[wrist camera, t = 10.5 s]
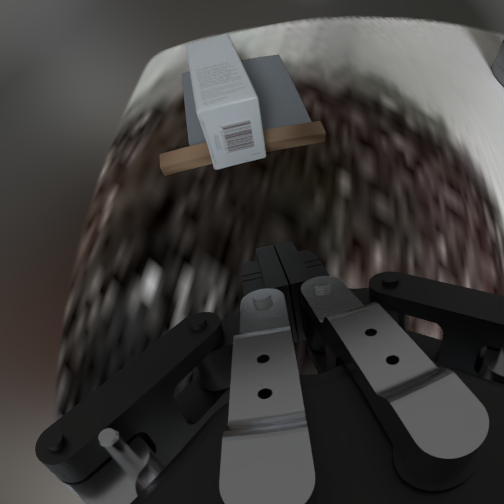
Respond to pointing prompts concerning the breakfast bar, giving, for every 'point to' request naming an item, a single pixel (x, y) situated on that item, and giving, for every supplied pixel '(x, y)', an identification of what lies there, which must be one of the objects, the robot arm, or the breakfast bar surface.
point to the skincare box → (225, 102)
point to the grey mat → (269, 95)
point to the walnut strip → (272, 140)
